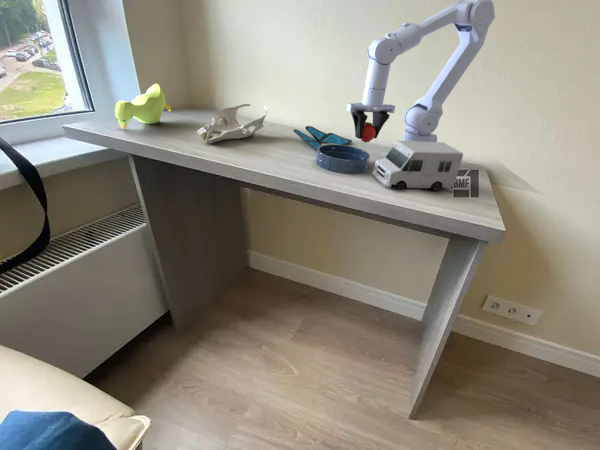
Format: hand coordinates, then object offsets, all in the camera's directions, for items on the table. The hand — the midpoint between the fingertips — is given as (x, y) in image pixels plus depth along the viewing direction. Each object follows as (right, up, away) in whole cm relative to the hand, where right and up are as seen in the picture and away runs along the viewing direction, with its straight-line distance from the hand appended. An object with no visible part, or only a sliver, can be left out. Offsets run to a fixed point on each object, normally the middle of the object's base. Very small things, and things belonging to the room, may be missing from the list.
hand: (365, 137), depth 106 cm
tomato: (0, -1, +1) cm, 1 cm away
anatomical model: (-40, +3, +10) cm, 42 cm away
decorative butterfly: (-13, 0, +12) cm, 18 cm away
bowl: (-8, -9, -4) cm, 13 cm away
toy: (-69, +7, +13) cm, 71 cm away
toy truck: (+9, -15, -11) cm, 21 cm away
